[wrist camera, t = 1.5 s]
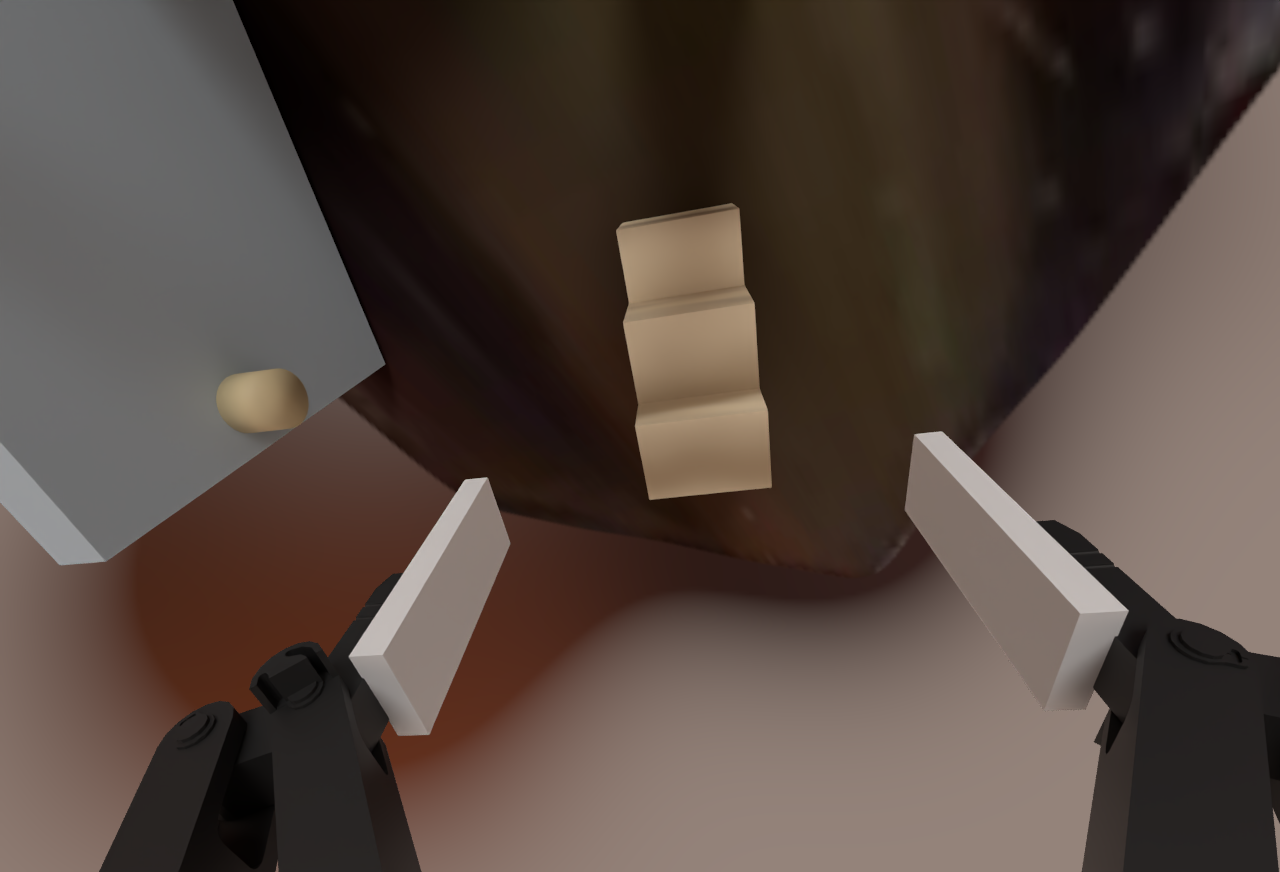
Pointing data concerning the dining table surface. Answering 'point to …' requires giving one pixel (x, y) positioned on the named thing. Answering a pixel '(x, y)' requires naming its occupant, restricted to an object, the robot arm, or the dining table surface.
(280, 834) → the robot arm
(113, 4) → the door
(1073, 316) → the dining table surface
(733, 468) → the toy staircase
